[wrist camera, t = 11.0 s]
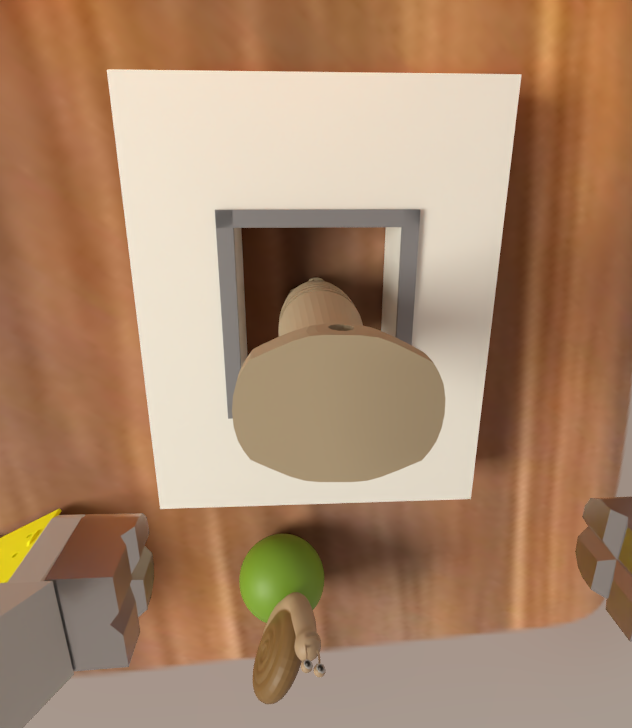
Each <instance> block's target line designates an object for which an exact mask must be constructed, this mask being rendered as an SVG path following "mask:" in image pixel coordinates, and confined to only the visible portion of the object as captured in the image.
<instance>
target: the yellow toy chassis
mask: <svg viewBox="0 0 632 728" xmlns="http://www.w3.org/2000/svg"><path fill="white" fill-rule="evenodd" d="M60 512H61V510H60V509H58V510H56V511H54V512H52V513H50V514H48V515H46V516H44V517H41V518H39V519H37V520H35V521H33V522H31V523H29V524H27V525H25V526H23V527H21V528H19V529H17V530H15V531H13V532H11V533H9V534H7V535H5V536H3V537H1V538H0V583H7V582H8V581H9V579H10V578H11V576H12V575H13V573H14V572H15V571H16V569H17V568H18V566H19V565H20V563H21V562H22V561H23V559H24V558H25V556H26V555H27V553H28V552H29V550H30V549H31V548H32V546H33V545H34V543H35V542H36V540H37V539H38V537H39V536H40V535H41V533H42V532H43V530H44V529H45V527H46V526H47V524H48V523H49V522H50V520H51V519H52V518H54V517H56V516H58V515H59V514H60Z"/></svg>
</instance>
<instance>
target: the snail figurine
mask: <svg viewBox="0 0 632 728" xmlns="http://www.w3.org/2000/svg"><path fill="white" fill-rule="evenodd" d="M239 582H240V591H241V595H242V598H243V600H244V602H245V604H246V606H247V608H248V609H249V610H250V611H251V613H252V614H253V615H254V616H256V617H257V618H258V619H260V620H261V621H263V622H265V623H267V624H266V626H265V629H264V632H263V636H262V639H261V641H260V644H259V647H258V650H257V654H256V658H255V663H254V669H253V687H254V692H255V694H256V696H257V698H258V699H259V700H260V701H261V702H263V703H265V704H274V703H276V702H278V701H279V700H280V699H282V698H283V697H284V695H285V694H286V693H287V692H288V690H289V689H290V687H291V686H292V684H293V682H294V680H295V678H296V675H297V673H298V671H299V668H300V665H301V669H302V671H303V672H305V673H309V672H310V671H311V670H312V667H313V665H312V662H311V661H312V660H314V659H315V658H316V657H317V656H318V660H319V664H317V665H316V666H315V667H314V674H315V675H316V676H317V677H322V676H323V675H324V674H325V667H324V665H322V664H320V654H319V652H320V649H321V640H320V637H319V635H318V634H317V632H316V621H315V617H314V613H313V609H314V608H315V607H316V605H317V604H318V602H319V600H320V597H321V595H322V592H323V587H324V570H323V565H322V562H321V560H320V557H319V555H318V554H317V552H316V551H315V549H314V548H313V547H312V546H311V545H310V544H309V543H308V542H307V541H305V540H304V539H302V538H300V537H298V536H295V535H291V534H275V535H271V536H268V537H266V538H264V539H262V540H261V541H259V542H258V543H257V544H255V545H254V546H253V547H252V548H251V550H250V551H249V552H248V554H247V555H246V557H245V559H244V561H243V564H242V567H241V571H240V581H239ZM301 662H302V663H301Z"/></svg>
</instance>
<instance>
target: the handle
mask: <svg viewBox="0 0 632 728" xmlns="http://www.w3.org/2000/svg"><path fill="white" fill-rule="evenodd" d="M444 415H445V391H444V384H443V381H442V379H441V376H440V373H439V371H438V370H437V368H436V366H435V365H434V363H433V362H432V360H431V359H430V358H429V357H428V356H427V355H426V354H425V353H424V352H423V351H421V350H419V349H417V348H415V347H413V346H412V345H410V344H408V343H406V342H404V341H402V340H400V339H398V338H396V337H393V336H391V335H389V334H387V333H385V332H382V331H380V330H377V329H375V328H372V327H367V326H363V323H362V320H361V317H360V314H359V312H358V311H357V309H356V307H355V305H354V303H353V302H352V301H351V299H350V298H349V297H348V296H347V295H346V294H345V293H344V292H343V291H342V290H341V289H339V288H338V287H336V286H335V285H333V284H331V283H328V282H324V281H323V279H321V278H318V277H314V278H310V279H309V281H308V282H305V283H303V284H301V285H299V286H298V287H296V288H295V289H291V290H290V292H289V294H288V296H287V298H286V300H285V302H284V304H283V307H282V309H281V313H280V317H279V337H277V338H275V339H273V340H271V341H268V342H266V343H264V344H262V345H260V346H258V347H256V348H254V349H253V350H252V351H251V352H250V354H249V355H248V357H247V358H246V360H245V362H244V363H243V365H242V367H241V369H240V371H239V374H238V378H237V382H236V386H235V390H234V394H233V404H232V416H233V425H234V430H235V433H236V436H237V440H238V442H239V444H240V445H241V447H242V449H243V451H244V452H245V453H246V455H247V456H248V457H249V458H250V460H252V461H254V462H257V463H259V464H261V465H263V466H266V467H268V468H270V469H273V470H275V471H278V472H280V473H282V474H285V475H287V476H290V477H293V478H297V479H300V480H304V481H313V482H359V481H368V480H372V479H375V478H379V477H382V476H385V475H387V474H390V473H393V472H395V471H398V470H400V469H403V468H405V467H407V466H410V465H412V464H415V463H417V462H419V461H422V460H423V459H424V457H425V456H426V455H427V454H428V453H429V452H430V450H431V449H432V447H433V446H434V444H435V443H436V441H437V438H438V436H439V433H440V431H441V428H442V424H443V419H444Z"/></svg>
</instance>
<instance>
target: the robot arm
mask: <svg viewBox="0 0 632 728" xmlns="http://www.w3.org/2000/svg"><path fill="white" fill-rule="evenodd" d="M582 517H583V519H584V520H585V522H586V524H587V525H588V527H587V528H586V529H585V530H584V531H583V532H582V533H581V534H580V535H579V536H578V539H577V545H576V551H575V552H576V558H577V564H578V568H579V570H580V573H581V575H582V577H583V579H584V580H585V582H586V583H587V585H588V586H589V587H590V589H591V590H593V591H594V592H596V593H598V594H599V595H601V596H603V597H604V598H606V599H607V600H606V610H607V612H608V613H609V614H610V616H611V617H612V618H613V620H614V621H615V622H616V624H617V625H618V626H619V628H620V629H621V630H622V632H623V633H624V634H625V636H626V637H627V638H628V640H629V641H632V497H611V498H590V500H589V501H588V502H587V504H586V505H585V508H584V512H583V516H582ZM148 535H149V527H148V522H147V517H146V516H145V515H144V514H143V513H141V514H87V515H84V514H79V515H58V516H56V517H54V518H52V519H51V520H50V522H49V523H48V524H47V526H46V527H45V529H44V530H43V532H42V533H41V535H40V536H39V537H38V539H37V540H36V542H35V543H34V545H33V546H32V548H31V549H30V550H29V552H28V553H27V555H26V556H25V558H24V559H23V561H22V562H21V563H20V565H19V566H18V568H17V569H16V571H15V572H14V573H13V575H12V576H11V578H10V579H9V581H8V582H7V583H0V728H23V727H24V726H25V725H26V724H27V723H28V722H29V721H30V720H31V719H32V718H33V716H35V715H36V714H37V713H38V712H39V710H40V709H41V708H42V707H43V706H44V705H45V704H46V703H47V702H48V701H49V700H50V699H51V698H52V697H53V696H54V695H55V693H57V692H58V691H59V690H60V689H61V688H62V686H63V685H64V684H65V683H66V682H67V681H68V680H69V679H70V678H71V677H72V676H73V675H74V672H73V671H83V670H96V669H108V668H120V667H129V664H130V661H131V658H132V655H133V652H134V649H135V646H136V643H137V640H138V637H139V634H140V626H139V620H138V617H139V616H140V615H141V614H142V613H144V612H145V611H146V610H147V609H148V605H149V602H150V599H151V595H152V588H153V581H154V562H153V555H152V552H150V551H149V550H148V549H147V548H146V547H145V544H146V541H147V538H148Z"/></svg>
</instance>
